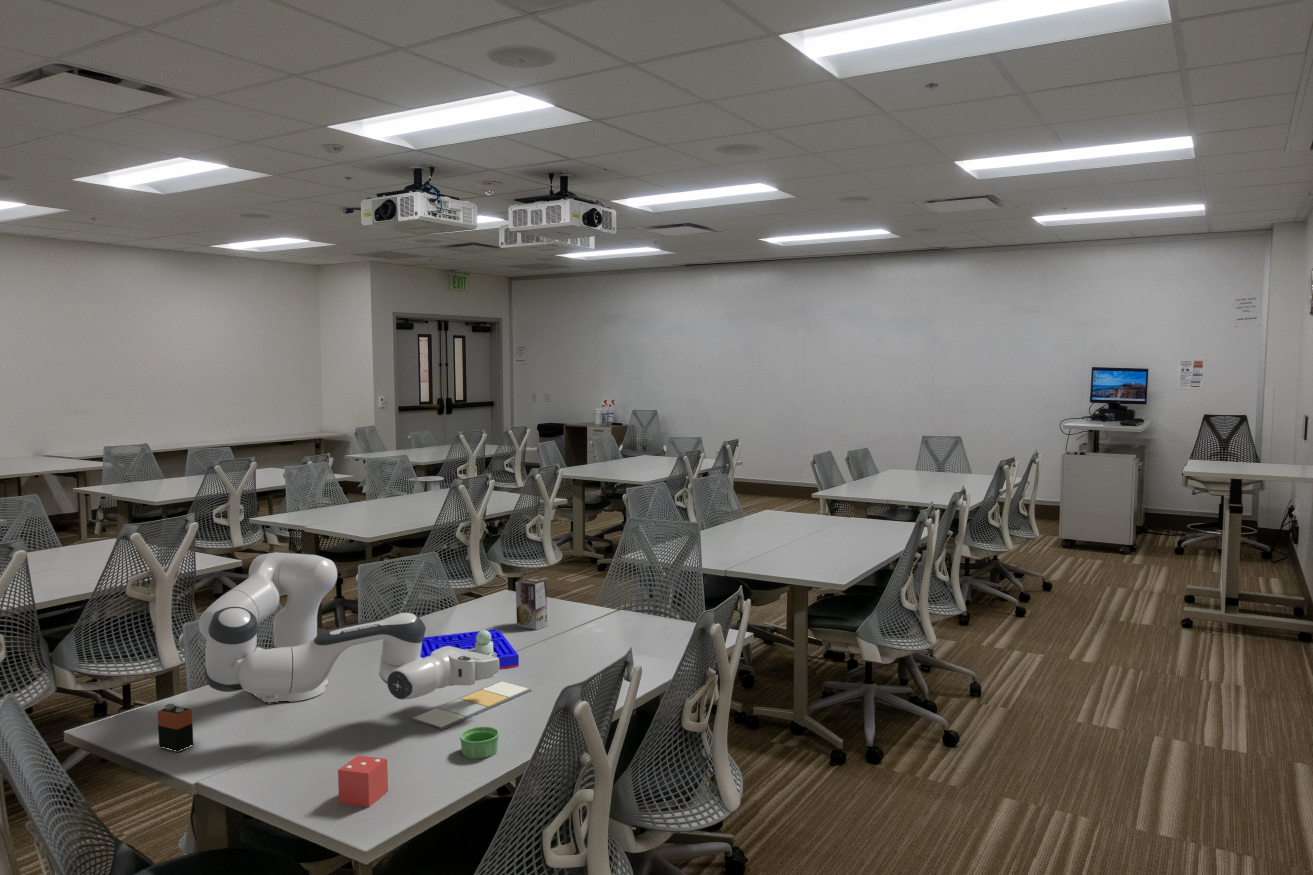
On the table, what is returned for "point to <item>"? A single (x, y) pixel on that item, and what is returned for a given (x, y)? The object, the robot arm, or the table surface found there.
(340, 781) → the red die
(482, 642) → the pawn
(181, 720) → the battery
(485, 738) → the ramekin
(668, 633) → the table surface
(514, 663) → the maze
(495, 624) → the table surface
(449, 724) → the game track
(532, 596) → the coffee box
